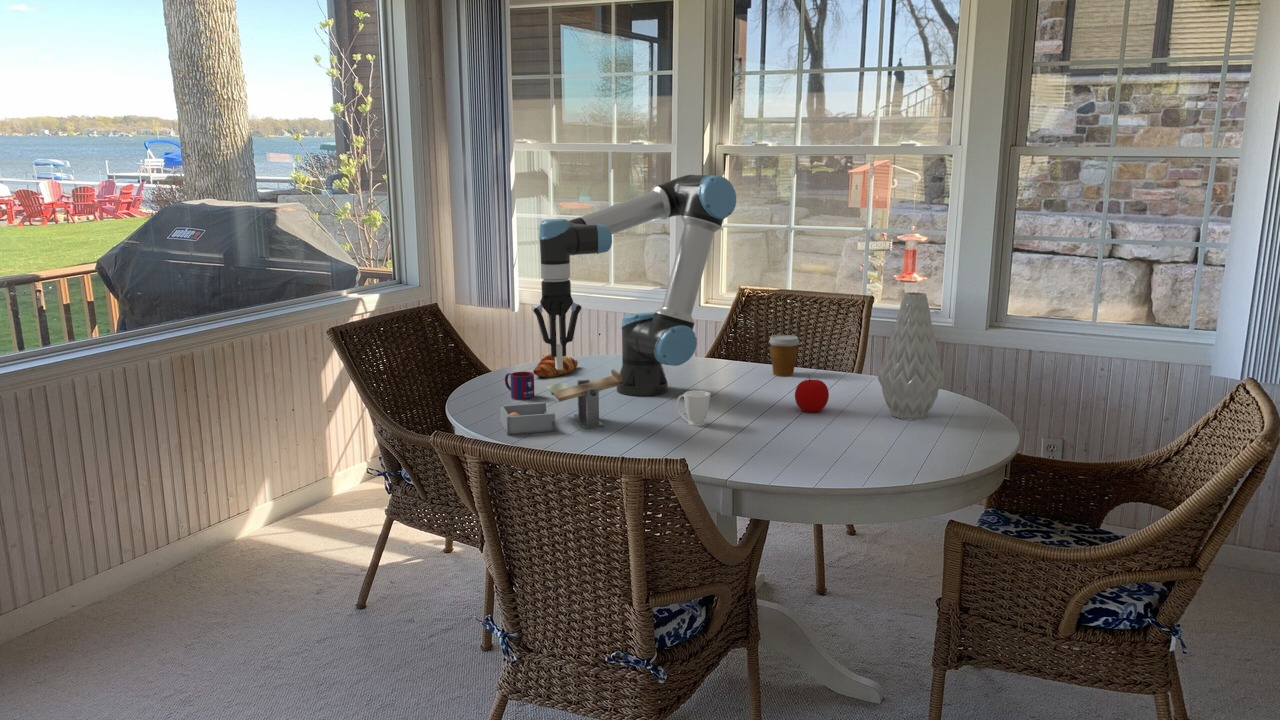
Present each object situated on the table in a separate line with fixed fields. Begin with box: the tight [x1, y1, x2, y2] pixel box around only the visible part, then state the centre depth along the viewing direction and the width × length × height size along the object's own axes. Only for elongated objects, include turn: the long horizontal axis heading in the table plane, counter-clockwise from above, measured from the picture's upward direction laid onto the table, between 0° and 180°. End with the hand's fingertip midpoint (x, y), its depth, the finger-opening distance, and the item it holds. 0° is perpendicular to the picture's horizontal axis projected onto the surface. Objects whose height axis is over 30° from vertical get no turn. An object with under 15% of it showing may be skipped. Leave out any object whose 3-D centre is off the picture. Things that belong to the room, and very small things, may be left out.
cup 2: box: [675, 390, 712, 427], centre depth 247 cm, size 7×10×8 cm
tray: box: [499, 401, 556, 436], centre depth 244 cm, size 12×12×4 cm
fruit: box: [794, 374, 830, 413], centre depth 258 cm, size 9×9×10 cm
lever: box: [545, 368, 623, 402], centre depth 250 cm, size 18×14×3 cm
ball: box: [509, 412, 520, 416], centre depth 243 cm, size 4×4×4 cm
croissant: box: [532, 353, 579, 378], centre depth 305 cm, size 21×10×8 cm, turn 147°
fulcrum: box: [573, 379, 605, 429], centre depth 248 cm, size 5×12×10 cm, turn 17°
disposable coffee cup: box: [768, 334, 800, 377], centre depth 302 cm, size 10×10×12 cm
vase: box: [877, 291, 945, 420], centre depth 250 cm, size 17×17×33 cm
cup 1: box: [504, 371, 535, 401], centre depth 275 cm, size 7×10×7 cm
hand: (559, 368), depth 252 cm, fingers closed
